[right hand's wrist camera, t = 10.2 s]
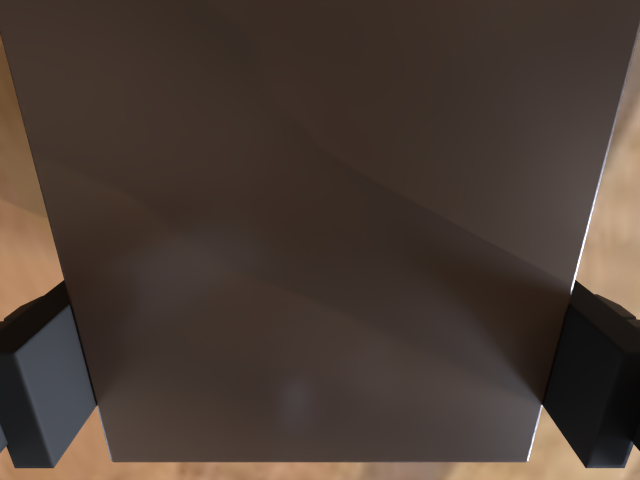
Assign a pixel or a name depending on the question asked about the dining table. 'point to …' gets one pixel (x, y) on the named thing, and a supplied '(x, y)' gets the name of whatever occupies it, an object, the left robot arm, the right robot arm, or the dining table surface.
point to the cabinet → (319, 214)
